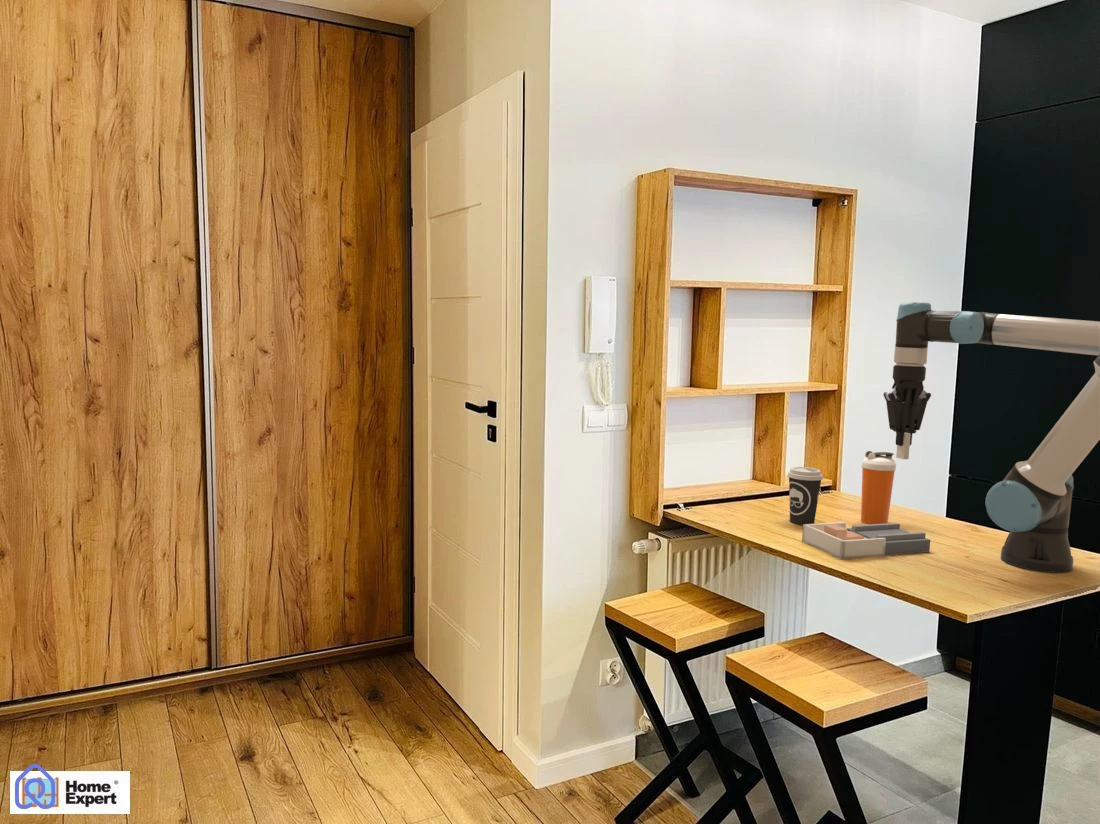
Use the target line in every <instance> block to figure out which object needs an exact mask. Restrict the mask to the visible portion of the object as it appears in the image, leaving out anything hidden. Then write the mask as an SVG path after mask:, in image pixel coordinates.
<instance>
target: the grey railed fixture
mask: <svg viewBox="0 0 1100 824" xmlns="http://www.w3.org/2000/svg"><path fill="white" fill-rule="evenodd" d="M900 527H901V524H900V523H898V522H890V523H889V522H888V523H886V524H855V525H854V524H853V525H851V527H846V529H847V530H848V531H852V532H854V533H857V534H859V535H862V536H864V537H865V538H867V539H872V538H886V545H885V556H887V555H889V556H890V555H899V554H901V555H902V554H915V553H927V552H928V553H930V548H931V539H929V538H926V534H927V533H926V532H924V531H919V532H918V531H916V532H910V531H907V530H905V529H902V528H900Z"/></svg>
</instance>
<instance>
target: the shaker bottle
mask: <svg viewBox="0 0 1100 824" xmlns="http://www.w3.org/2000/svg"><path fill="white" fill-rule="evenodd" d="M894 455H895V453H893V452H889V451H888V452H887V451H878V452H873V451H872V450H868V451H866V452H865V456H864V457H863V460H861V468H862V469H861V470H862V471H861V474H862V475H861V476H862V477H861V502H860V503H861V508H860V509H861V510H860V522H861V523H863V524H865V525H869V524H886V523H889V516H890V508H891V499H892V492H893V486H894V485H893V484H894V478H895V477H894V476H895V471H897V469H896V467H897V463H896V461H895V460H894V459H893V456H894Z"/></svg>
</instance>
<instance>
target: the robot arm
mask: <svg viewBox="0 0 1100 824" xmlns="http://www.w3.org/2000/svg"><path fill="white" fill-rule="evenodd" d="M897 309H898V311H897V317H896V321H895V322H896V329H895V330H896V332H895V345H894V356H893V362H894V363H895V364H894V365H893V367H892V379H893V385H892V387H891V390H889V391H885V392H884V393H883V398H884V400H885V402H886V409H887V418H888V424H889V425H888V428H889V430H892V431H893V432H895V446H896V455H895V458H897V459H901V460H909V458H910V456H909V455H910V447H911V446H912V441H913V434H916V433H917V431H920V430H921V426H922V423H923V419H924V416H925V412H926V408H927V404H928V402H929V400H930V398H932V393H930V392H927V391H926V390H925V388H924V383H923V382H924V381H926V373H927V367H926V366H925V365H926V364H927V362H928V349H929V347H928V346H929V342H930V343H934V342H937V343H946V344H948V343H949V344H959V345H966V344H967V345H968V344H983V345H984V344H985V345H996V346H1006V347H1015V348H1025V349H1035V350H1042V351H1043V350H1044V351H1051V352H1052V351H1053V352H1062V353H1069V354H1070V353H1071V354H1080V355H1090V356H1097V357H1096V358H1095V359H1094V360H1093V367H1094V370H1095V371H1094V374H1093V375H1092V376H1091V378H1090V379H1089V380H1088V381H1087V383H1086V384H1085V385H1084V387H1083V388H1082V389H1081V391H1080V392H1079V393H1078V395H1077V396H1076V397H1075V398H1074V400H1072V402H1071V403H1070V405H1069V406H1068V407H1067V409H1066V410H1065V411H1064V413H1063V414H1062V415H1061V416H1060V418H1059V419H1058V421H1056V423H1055V424H1054V426H1053V427H1052V428H1051V430H1050V431H1049V432H1048V433H1047V435H1046V436H1045V437H1044V439H1043V440H1042V441H1041V442H1040V444H1039V445H1038V446H1037V448H1036V449H1035V450H1034V452H1032V454H1031V456H1030V457H1029V458H1028V459H1027V460H1023V461H1017V462H1016V463H1015V464H1014V466H1013V467H1012V468H1011V470H1009V472H1008V473H1007V474H1006V476H1005V477H1004V478H1003V480H1002V481H1001V480H1000V481H998V482H997V483H994V485H993V486H992V487H991V488H990V489H989V490H988V492H987V494H986V497H985V508H986V512H987V515H988V517H989V518H990V520H992V522H994V524H995V525H996V526H998V527H1000V528H1001V529H1002V530H1005V531H1008V532H1009V533H1008V535H1007V537H1006V539H1005V541H1004V545H1002V547H1001V549H1000V559H1001V561H1003V562H1004V563H1006V564H1009V565H1011V566H1015V567H1019V568H1021V569H1025V570H1026V569H1027V570H1031V571H1038V572H1045V573H1047V572H1048V573H1068V572H1071V571H1072V570H1073V568H1074V557H1073V555H1072V551H1071V545H1070V542H1069V541H1070V540H1069V537H1068V536H1069V525H1070V515H1071V508H1072V498H1073V491H1074V488H1075V487H1074V486H1075V485H1074V476H1073V473H1074V472H1075V471H1076V469H1077V468H1078V467H1079V466H1080V464H1081V463H1083V461H1084V460H1085V459H1086V457H1087V456H1088V455H1089V454H1090V452H1091V451H1092V450H1093V448H1094V447H1095V446H1096V445H1097V444H1098V442H1099V441H1100V320H1099V321H1097V320H1096V321H1095V320H1082V319H1073V318H1072V319H1070V318H1058V317H1046V316H1045V317H1044V316H1033V315H1031V316H1030V315H1019V314H1018V315H1017V314H1004V313H991V312H985V311H977V312H976V311H970V310H967V311H966V310H961V311H960V310H957V311H956V310H955V311H954V310H947V311H946V310H939V311H938V310H932V304H931V303H930V302H918V301H916V302H912V301H909V302H908V301H904V302H901V303H900V304H899V305H898V308H897Z"/></svg>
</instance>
